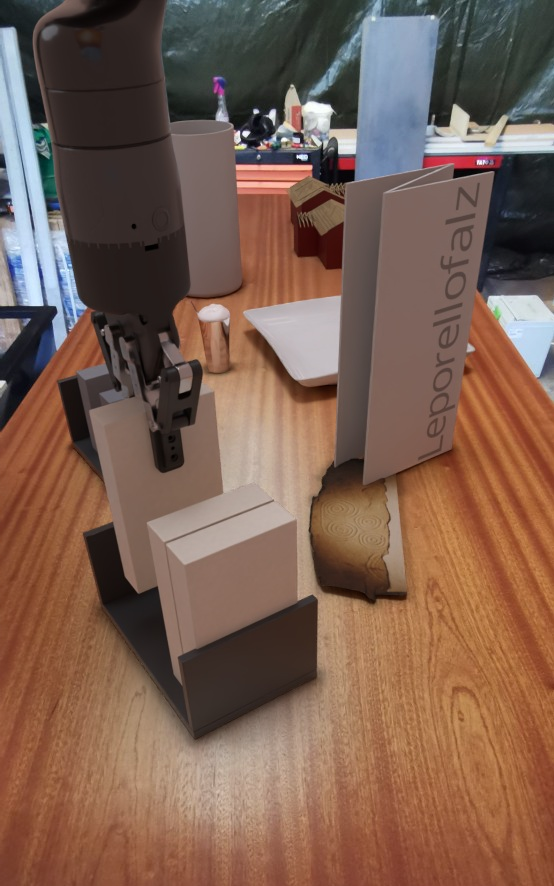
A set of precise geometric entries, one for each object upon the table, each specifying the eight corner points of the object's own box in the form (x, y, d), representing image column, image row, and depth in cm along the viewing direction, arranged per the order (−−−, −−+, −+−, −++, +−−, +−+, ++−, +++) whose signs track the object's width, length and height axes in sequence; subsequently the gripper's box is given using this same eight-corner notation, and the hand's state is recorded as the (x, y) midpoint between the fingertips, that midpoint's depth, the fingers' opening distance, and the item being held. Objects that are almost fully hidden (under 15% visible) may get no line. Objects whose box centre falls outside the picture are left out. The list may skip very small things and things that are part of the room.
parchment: (407, 601, 70) (408, 594, 69) (304, 596, 70) (304, 590, 70) (395, 466, 88) (396, 459, 88) (314, 463, 89) (314, 456, 88)
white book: (138, 594, 63) (103, 425, 52) (124, 577, 64) (88, 409, 54) (229, 556, 66) (214, 390, 55) (214, 540, 68) (196, 377, 57)
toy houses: (278, 221, 165) (277, 170, 158) (367, 214, 167) (370, 163, 160) (316, 291, 132) (317, 230, 125) (427, 282, 134) (433, 221, 127)
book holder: (194, 740, 59) (167, 578, 48) (101, 607, 71) (61, 453, 60) (317, 676, 64) (319, 515, 52) (210, 562, 76) (192, 411, 64)
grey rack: (117, 497, 85) (99, 410, 77) (72, 446, 94) (52, 364, 86) (208, 465, 90) (199, 380, 82) (157, 419, 98) (145, 339, 91)
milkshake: (199, 362, 111) (192, 294, 105) (234, 362, 111) (230, 294, 104) (196, 375, 108) (188, 306, 101) (232, 375, 108) (227, 306, 101)
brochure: (364, 486, 84) (385, 193, 65) (333, 467, 88) (344, 183, 68) (451, 449, 91) (494, 171, 71) (419, 432, 94) (452, 163, 75)
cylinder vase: (166, 297, 132) (145, 135, 115) (184, 274, 141) (168, 119, 124) (234, 300, 130) (223, 135, 113) (248, 276, 139) (240, 120, 122)
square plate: (475, 373, 106) (479, 347, 103) (295, 405, 100) (295, 378, 98) (396, 307, 125) (398, 283, 123) (242, 331, 120) (240, 306, 117)
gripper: (29, 206, 49) (82, 436, 61) (114, 261, 40) (157, 518, 52) (131, 188, 52) (163, 410, 64) (231, 235, 43) (247, 483, 55)
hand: (160, 457), depth 58 cm, fingers closed on white book, 3 cm apart
